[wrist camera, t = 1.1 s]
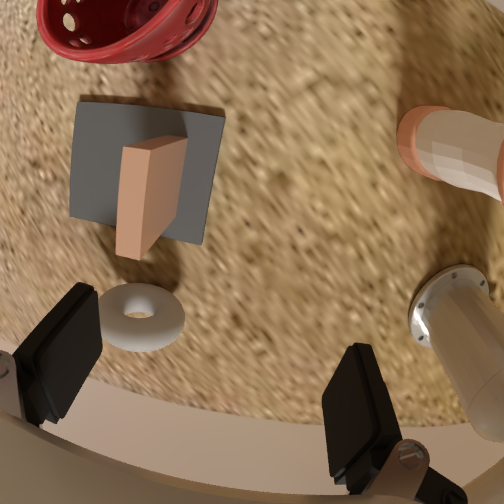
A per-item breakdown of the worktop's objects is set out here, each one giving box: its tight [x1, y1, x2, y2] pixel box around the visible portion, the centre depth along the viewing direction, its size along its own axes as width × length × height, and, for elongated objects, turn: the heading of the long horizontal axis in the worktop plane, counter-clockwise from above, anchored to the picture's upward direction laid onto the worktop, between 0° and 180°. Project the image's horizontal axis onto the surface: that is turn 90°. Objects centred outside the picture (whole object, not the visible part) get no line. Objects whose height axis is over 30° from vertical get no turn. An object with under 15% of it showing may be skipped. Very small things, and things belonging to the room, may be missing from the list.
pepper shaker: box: [397, 106, 504, 206], centre depth 18 cm, size 7×7×19 cm
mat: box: [70, 102, 226, 245], centre depth 30 cm, size 16×13×1 cm
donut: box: [98, 283, 185, 352], centre depth 31 cm, size 10×3×10 cm, turn 79°
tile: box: [116, 135, 188, 260], centre depth 25 cm, size 2×8×10 cm, turn 168°
